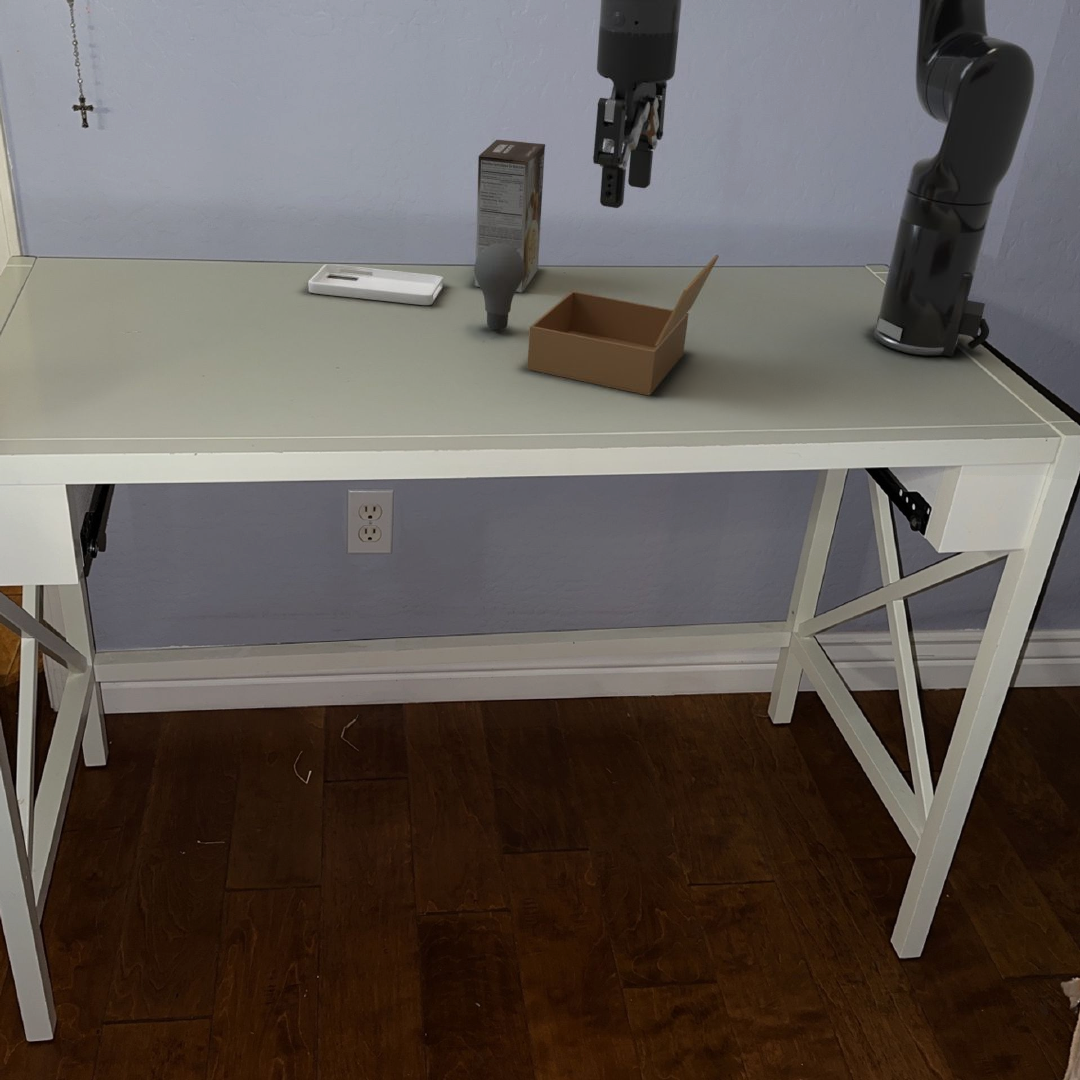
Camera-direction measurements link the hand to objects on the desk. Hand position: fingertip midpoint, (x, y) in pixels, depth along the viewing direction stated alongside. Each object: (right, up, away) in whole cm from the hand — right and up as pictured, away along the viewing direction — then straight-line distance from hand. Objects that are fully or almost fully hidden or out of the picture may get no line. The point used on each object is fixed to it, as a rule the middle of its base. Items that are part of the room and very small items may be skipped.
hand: (625, 196), depth 118 cm
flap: (+6, -10, +1) cm, 12 cm away
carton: (-1, -16, +8) cm, 17 cm away
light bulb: (-14, -11, +13) cm, 22 cm away
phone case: (-29, -5, +23) cm, 37 cm away
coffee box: (-13, -2, +29) cm, 32 cm away
